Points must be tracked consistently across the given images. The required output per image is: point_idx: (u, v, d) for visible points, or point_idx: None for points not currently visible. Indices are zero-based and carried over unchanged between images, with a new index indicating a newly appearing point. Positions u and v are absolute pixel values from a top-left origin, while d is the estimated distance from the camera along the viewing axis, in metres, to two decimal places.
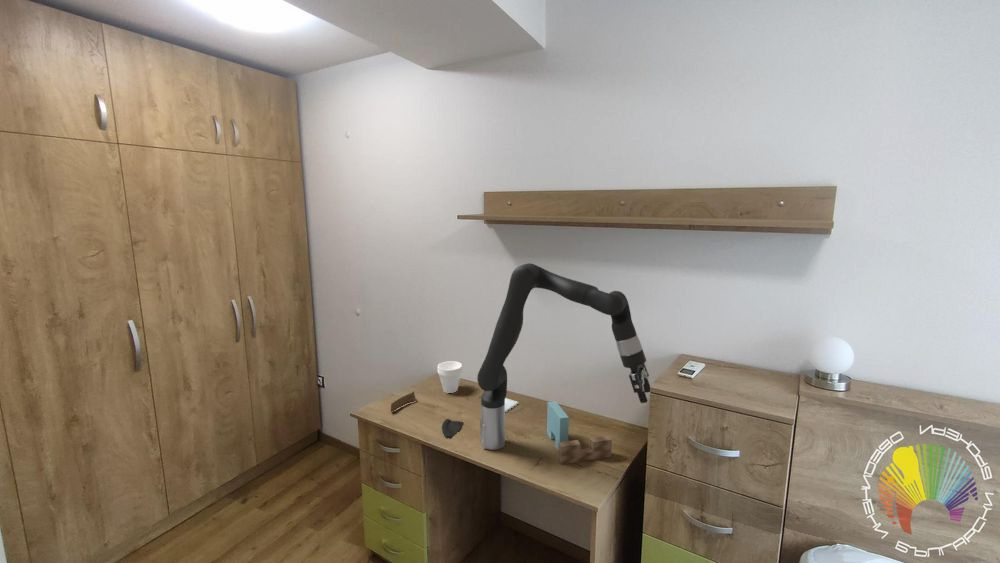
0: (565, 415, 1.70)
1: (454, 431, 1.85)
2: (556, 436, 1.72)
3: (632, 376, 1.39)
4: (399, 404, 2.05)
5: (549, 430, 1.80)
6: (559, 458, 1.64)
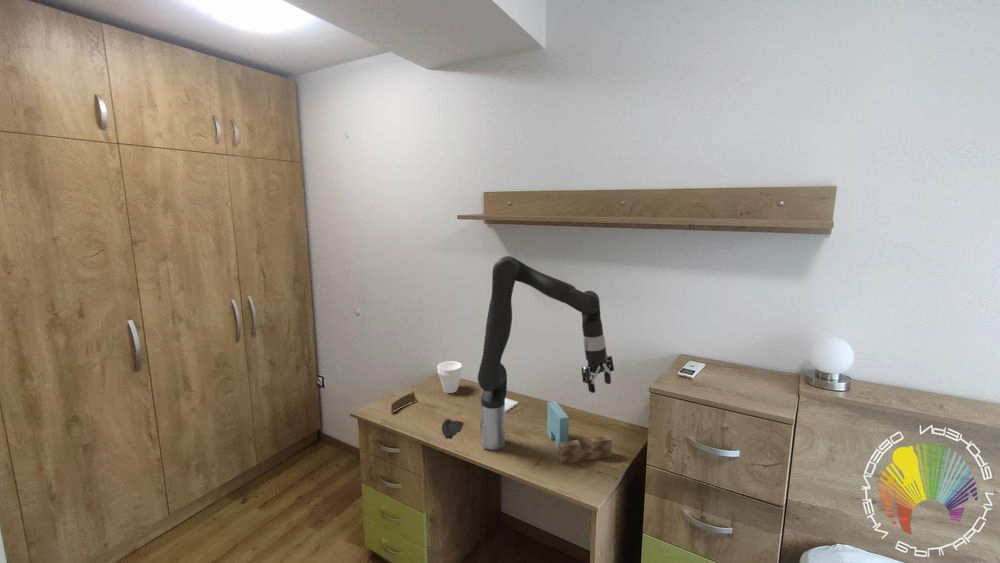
0: (565, 415, 1.70)
1: (454, 431, 1.85)
2: (556, 436, 1.72)
3: (583, 369, 1.57)
4: (399, 404, 2.05)
5: (549, 430, 1.80)
6: (559, 458, 1.64)
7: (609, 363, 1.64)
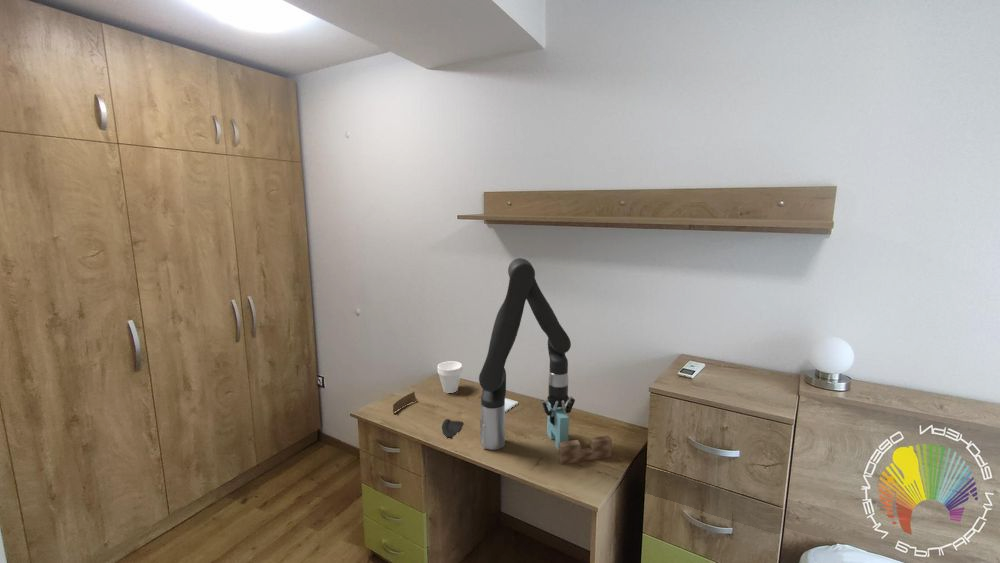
0: (565, 415, 1.70)
1: (454, 431, 1.85)
2: (556, 436, 1.72)
3: None
4: (400, 404, 2.05)
5: (549, 430, 1.80)
6: (559, 458, 1.64)
7: (569, 404, 1.75)
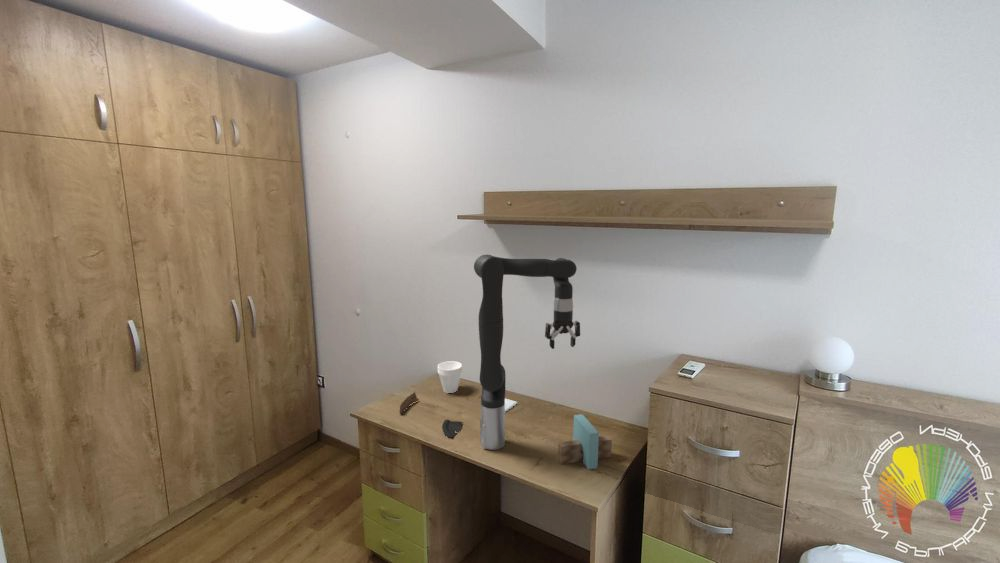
0: (594, 430, 1.59)
1: None
2: (584, 452, 1.61)
3: (546, 325, 1.77)
4: (405, 405, 2.04)
5: None
6: (559, 458, 1.64)
7: (576, 328, 1.79)
